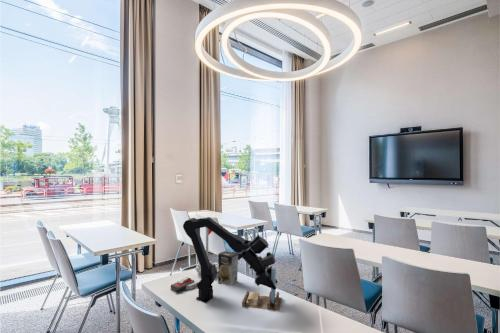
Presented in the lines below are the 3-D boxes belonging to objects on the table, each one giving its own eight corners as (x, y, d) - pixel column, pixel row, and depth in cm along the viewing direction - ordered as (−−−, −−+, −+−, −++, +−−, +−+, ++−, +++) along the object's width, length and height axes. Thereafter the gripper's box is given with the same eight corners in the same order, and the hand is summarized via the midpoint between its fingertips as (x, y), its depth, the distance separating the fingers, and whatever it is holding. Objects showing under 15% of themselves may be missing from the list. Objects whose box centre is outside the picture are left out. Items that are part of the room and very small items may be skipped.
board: (270, 303, 123) (271, 272, 123) (272, 297, 129) (272, 267, 129) (274, 303, 123) (274, 272, 123) (275, 297, 129) (275, 267, 129)
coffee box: (217, 283, 149) (217, 253, 149) (224, 279, 154) (224, 250, 155) (231, 287, 144) (231, 256, 144) (238, 282, 150) (238, 253, 150)
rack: (241, 308, 122) (242, 301, 122) (247, 296, 134) (247, 289, 134) (280, 312, 119) (280, 304, 119) (281, 299, 131) (281, 292, 131)
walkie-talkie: (178, 295, 135) (208, 282, 151) (178, 287, 135) (208, 274, 151) (167, 291, 140) (197, 278, 156) (167, 282, 140) (197, 270, 156)
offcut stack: (245, 304, 124) (245, 299, 124) (249, 296, 132) (249, 291, 132) (256, 305, 123) (256, 300, 123) (259, 297, 131) (259, 292, 131)
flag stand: (207, 280, 153) (208, 226, 153) (191, 275, 160) (191, 224, 160) (222, 272, 164) (222, 222, 164) (206, 268, 171) (206, 220, 171)
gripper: (262, 255, 118) (288, 283, 116) (267, 243, 136) (289, 267, 134) (244, 271, 119) (269, 299, 117) (251, 258, 137) (273, 281, 135)
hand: (276, 285), depth 126 cm, fingers closed on board, 6 cm apart
